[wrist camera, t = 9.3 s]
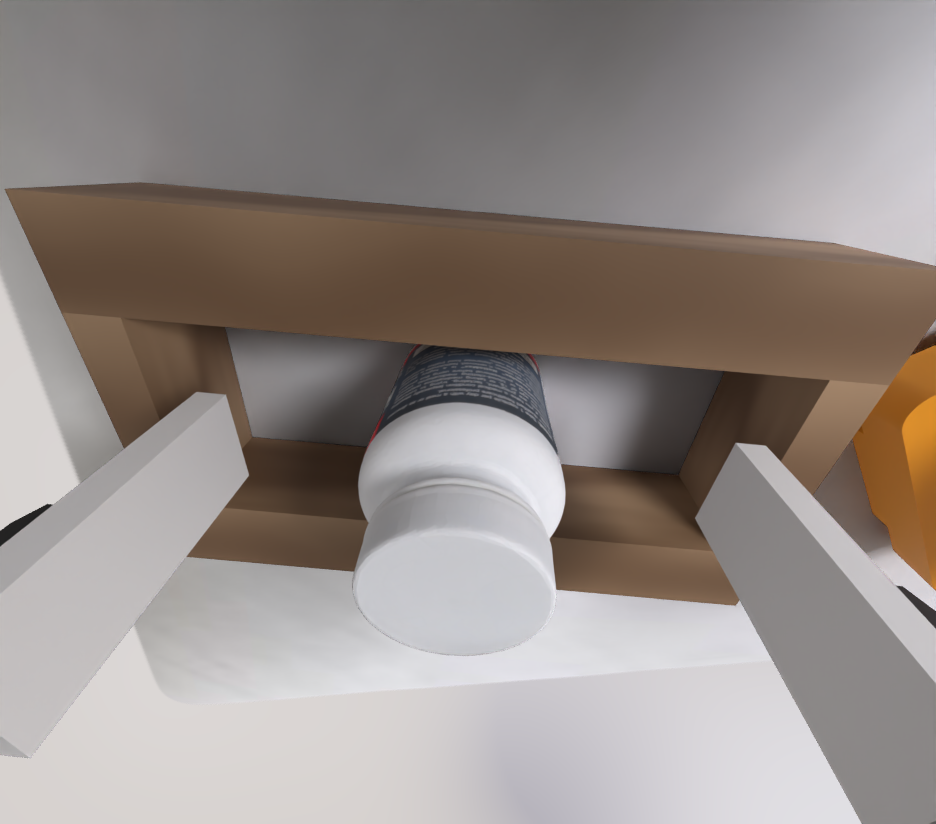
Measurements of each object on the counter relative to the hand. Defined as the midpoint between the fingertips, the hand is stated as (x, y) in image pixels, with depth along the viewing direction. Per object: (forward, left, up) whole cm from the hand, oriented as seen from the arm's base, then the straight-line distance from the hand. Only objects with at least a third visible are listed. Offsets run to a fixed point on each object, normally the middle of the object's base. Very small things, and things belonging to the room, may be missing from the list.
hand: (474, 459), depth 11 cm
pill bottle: (0, 0, -5) cm, 5 cm away
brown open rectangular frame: (0, 0, -5) cm, 5 cm away
